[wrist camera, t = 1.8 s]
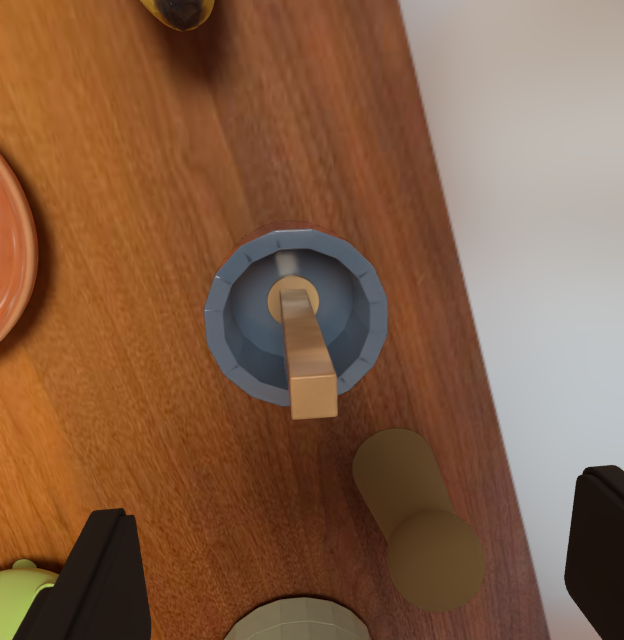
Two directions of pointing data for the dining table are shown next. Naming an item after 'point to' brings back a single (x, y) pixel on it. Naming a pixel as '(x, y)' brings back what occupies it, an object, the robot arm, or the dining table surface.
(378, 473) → the pepper shaker
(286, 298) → the stick
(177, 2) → the banana
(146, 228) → the dining table surface
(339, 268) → the holder
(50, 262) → the dining table surface
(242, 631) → the bowl
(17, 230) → the saucer
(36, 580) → the teapot
